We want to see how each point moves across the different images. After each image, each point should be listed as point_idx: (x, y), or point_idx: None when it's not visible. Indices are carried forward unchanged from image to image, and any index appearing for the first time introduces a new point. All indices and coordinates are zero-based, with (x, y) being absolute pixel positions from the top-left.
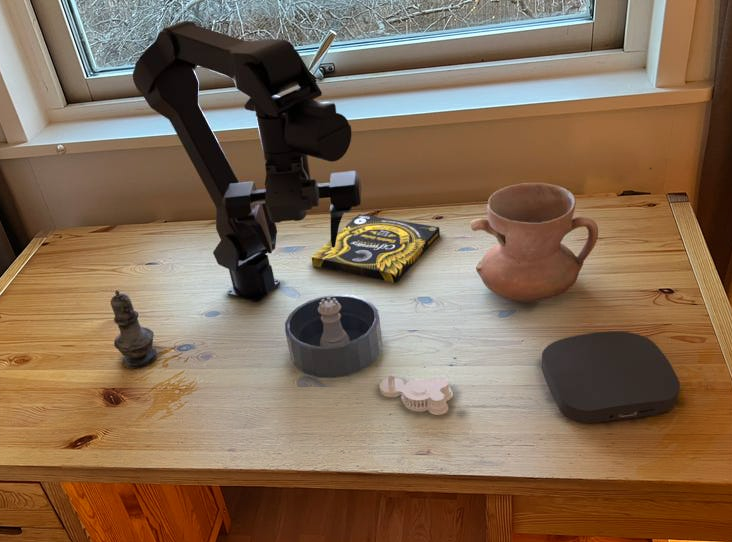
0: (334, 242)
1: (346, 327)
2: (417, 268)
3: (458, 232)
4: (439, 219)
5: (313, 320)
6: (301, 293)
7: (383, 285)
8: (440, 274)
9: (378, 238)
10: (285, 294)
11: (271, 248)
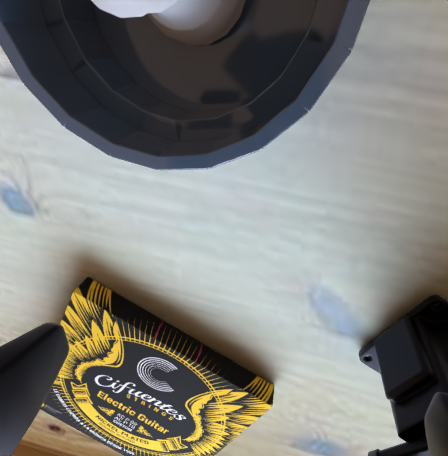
0: (16, 340)
1: (173, 105)
2: (57, 312)
3: None
4: (53, 424)
5: (259, 95)
6: (305, 301)
7: (114, 277)
8: (10, 281)
9: (131, 412)
10: (348, 309)
11: (435, 428)
